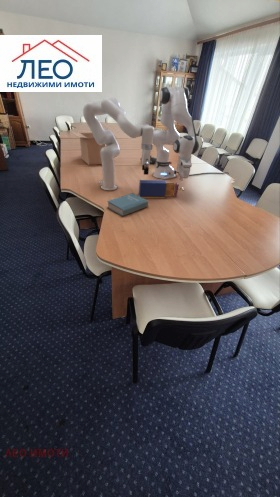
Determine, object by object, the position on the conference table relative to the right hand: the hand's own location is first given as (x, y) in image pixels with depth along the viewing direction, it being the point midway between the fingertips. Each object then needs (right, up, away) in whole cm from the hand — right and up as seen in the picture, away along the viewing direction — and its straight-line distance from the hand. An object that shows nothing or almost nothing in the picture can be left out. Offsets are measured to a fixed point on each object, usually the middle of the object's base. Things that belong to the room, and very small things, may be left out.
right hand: (180, 180), depth 166 cm
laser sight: (-19, +43, +78) cm, 91 cm away
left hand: (-27, +4, -7) cm, 28 cm away
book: (-39, -23, -13) cm, 47 cm away
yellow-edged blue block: (-22, -11, +5) cm, 25 cm away
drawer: (-9, -10, +6) cm, 15 cm away
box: (-81, +43, +71) cm, 116 cm away
